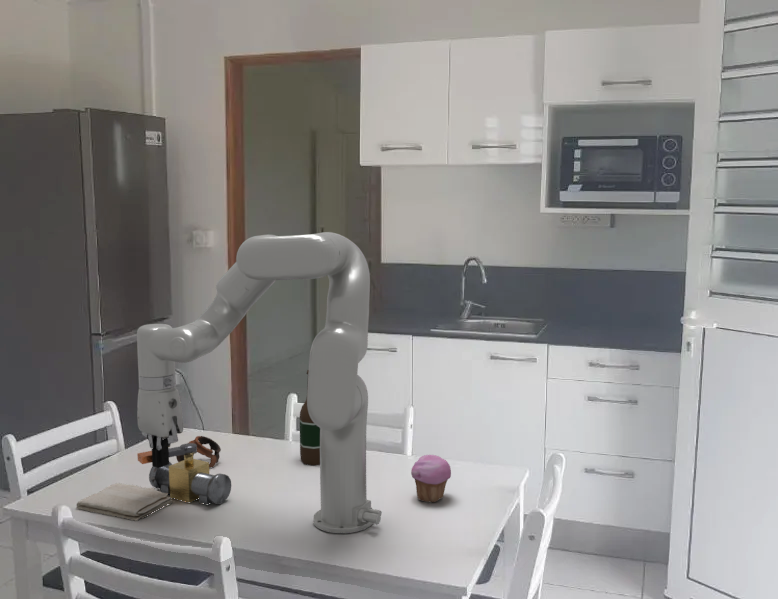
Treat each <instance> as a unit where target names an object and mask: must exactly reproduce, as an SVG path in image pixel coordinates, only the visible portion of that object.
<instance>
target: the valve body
mask: <svg viewBox="0 0 778 599" xmlns="http://www.w3.org/2000/svg"><path fill="white" fill-rule="evenodd" d="M209 464H210V461H209V462H208V461H204V460H200V459H196V458H194V456H193V454H192V455H184V460H183V461H181V462H178V461H177V462H176V463H174V464H172V462H171V461H169V464H168V465H166V466H163V467H160V468H156V467H153V466H151V468H150V470H149V474H148V480H149V484H150V485H151V486H152V488H155V489H160V492H163V493H168V494H170V495H169V497H171V498H175V499H178V500H177V501H179V500H182V501H186V502H191V503H193V502H192V501H194V500H196V499H198V498H199V499H198V503H199V502H200V503H204V504H209V503H211V504H215V505H216V504H217V505H220V504H223V503H225V502H226V501H227V499H228V497H229V496H230V494H231V491H232V480H231V478H230V476H229V475H228V474H224V473H221V472H220V473H216V474H215V475H214V474H210V467H209ZM175 499H174V500H175ZM182 501H181V502H182ZM196 501H197V500H196ZM186 502H185V503H186ZM194 502H195V501H194ZM200 503H199V504H200ZM204 504H203V505H204ZM209 505H210V504H209Z"/></svg>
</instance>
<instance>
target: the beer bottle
mask: <svg viewBox="0 0 778 599" xmlns="http://www.w3.org/2000/svg"><path fill="white" fill-rule="evenodd" d="M308 373H309V369H307V371H306V374H307V375H308ZM307 391H308V381H307V386H306V392H307ZM299 447H300V448H299V454H300V455H299V458H300V460H301V462H302V463H303V464H304V465H307V464H308V466H320V427H318V426H317V425H316V424H315V423H314V422H313V421H312V419H311V418H310V415H309V413H308V408H307V396H306V398H305V401H304V402H303V404H302V406H301V408H300V412H299Z"/></svg>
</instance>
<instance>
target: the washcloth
mask: <svg viewBox="0 0 778 599" xmlns="http://www.w3.org/2000/svg"><path fill="white" fill-rule="evenodd" d="M170 503H171V504H172V503H173V499H171V497H170V496H169V495H168V493H163V492H161V491H160V490H157V489H156V488H155V487H146V486H145V487H143V486H141V485H140V486H139V485H134V484H127V483H121V482H118V483H117V482H116V483H113V484H111V485H109V486H106V487H105V488H103V489H102V490H101V491H98V492H97V493H93V494H91V495H88V496H86V497H84V498H83V499H80V500H78V501H77V502H76V509H78V510H82V511H86V512H90V513H91V512H92V513H96V514H100V513H101V515H105V516H110V515H112V517H115V516H117V517H116V518H120V517H123V518H122V519H124V518H127V519H126V520H128V519H131V520H130V521H133V520H135V521H134V522H139V520H141V519H140V518H142V519H144V518H143V517H146V516H147V515H149V514H151V513H152V512H154V511H156V510H158V509H160V508H162V507H163V506H166V505H167V504H170ZM171 504H170V505H171ZM166 507H167V506H166ZM146 518H147V517H146Z"/></svg>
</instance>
